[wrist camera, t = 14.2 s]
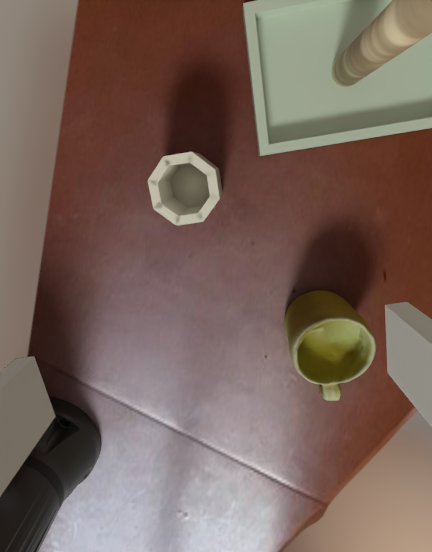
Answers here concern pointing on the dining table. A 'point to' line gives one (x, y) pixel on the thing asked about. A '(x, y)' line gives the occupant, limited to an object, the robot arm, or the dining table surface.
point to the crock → (185, 187)
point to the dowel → (383, 40)
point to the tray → (328, 76)
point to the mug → (328, 341)
